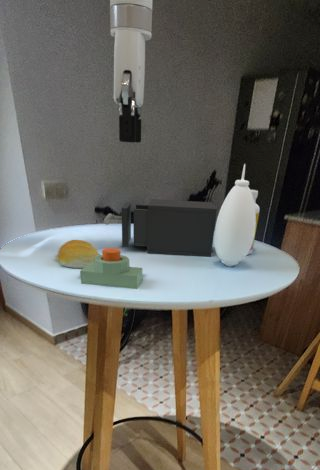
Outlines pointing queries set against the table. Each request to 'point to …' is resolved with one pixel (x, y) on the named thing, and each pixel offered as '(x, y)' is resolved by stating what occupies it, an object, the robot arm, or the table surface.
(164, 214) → the box
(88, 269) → the box
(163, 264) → the table surface
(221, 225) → the sauce bottle
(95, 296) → the table surface
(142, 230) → the drawer
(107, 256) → the button
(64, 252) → the bread roll
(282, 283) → the table surface
